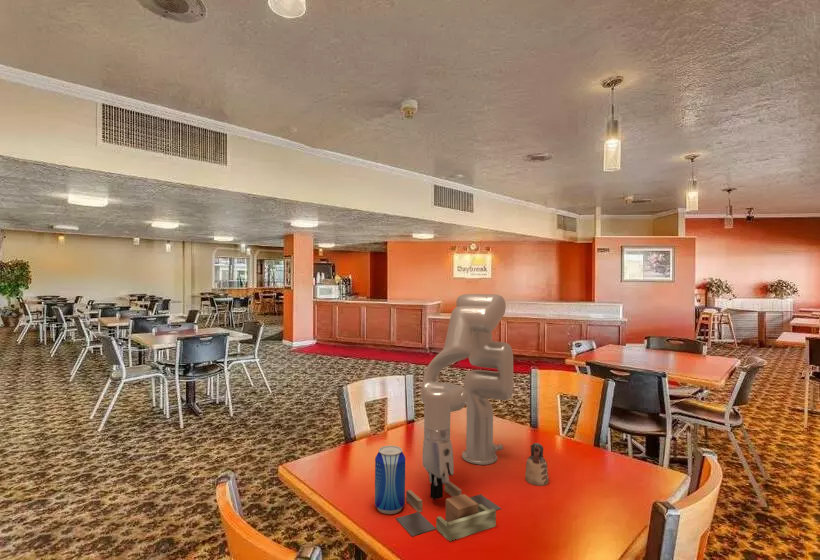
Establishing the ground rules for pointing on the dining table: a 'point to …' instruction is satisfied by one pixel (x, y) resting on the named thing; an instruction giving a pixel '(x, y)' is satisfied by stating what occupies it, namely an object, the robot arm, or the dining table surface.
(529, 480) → the figurine
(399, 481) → the beer can
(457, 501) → the walnut block
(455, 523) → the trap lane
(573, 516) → the dining table surface
